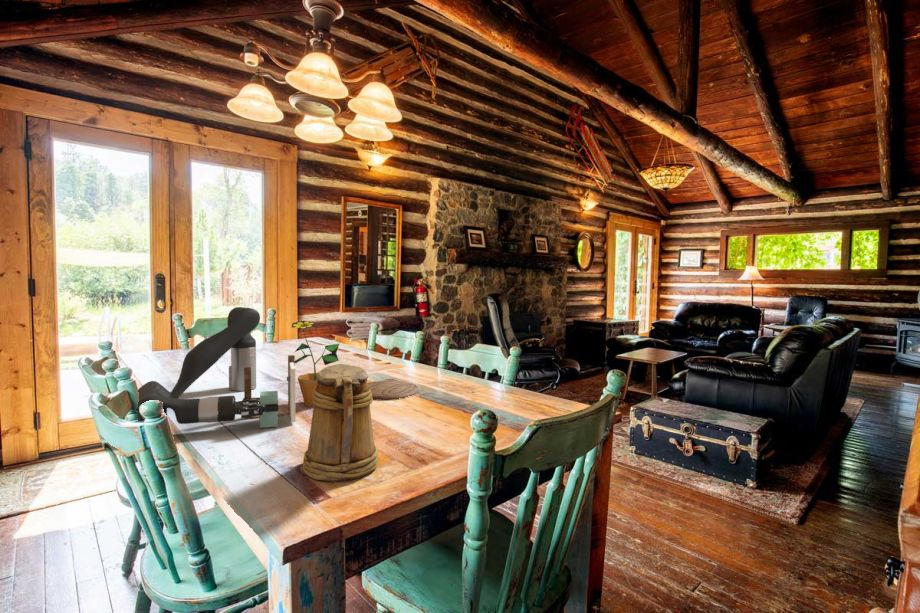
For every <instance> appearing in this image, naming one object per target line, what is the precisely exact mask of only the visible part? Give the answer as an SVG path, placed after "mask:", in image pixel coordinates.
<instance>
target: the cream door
mask: <svg viewBox="0 0 920 613" xmlns="http://www.w3.org/2000/svg"><path fill="white" fill-rule="evenodd" d="M286 381H287V382H288V381H290V415H289V416H290V421H291V422H292V423H294V422H295V423H296V365H295V366H294V362H291V363H290V376H289V377H288V376H286Z"/></svg>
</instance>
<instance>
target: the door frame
mask: <svg viewBox="0 0 920 613" xmlns="http://www.w3.org/2000/svg"><path fill="white" fill-rule="evenodd" d="M295 357H296V355H294V354H289V355H287V375H288V376H287V377H289V376H290V363H291V362H294V366H295V367H296V363H295V360H296V358H295ZM243 393H244V394H243V395H244V397H243V398H252V390H251V366H244V391H243ZM287 393H288V394H287V406H288V407H287V408H288V409H287V411H288V412H287V413H288V416H290V381H287ZM283 416H284V411H278V416H277V417H283ZM249 419H252V420H253V419H254V420H256V419H260V416H253V417H246V418H244V420H249Z"/></svg>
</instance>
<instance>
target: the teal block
mask: <svg viewBox="0 0 920 613" xmlns="http://www.w3.org/2000/svg"><path fill="white" fill-rule="evenodd" d="M278 392H279V391H278V390H268V391H267V390H266V391H260V392H259V394H260V395H259V398H260V405H262V404H264V405H265V406H266V404H278V405H279V399H278V398H279V395H278ZM278 412H279V410H278V411H275V412H265V413H263V415H260V418H259V428H260V429H261V428H264V429H265V428H275V427H278V417H279V416H278Z"/></svg>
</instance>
